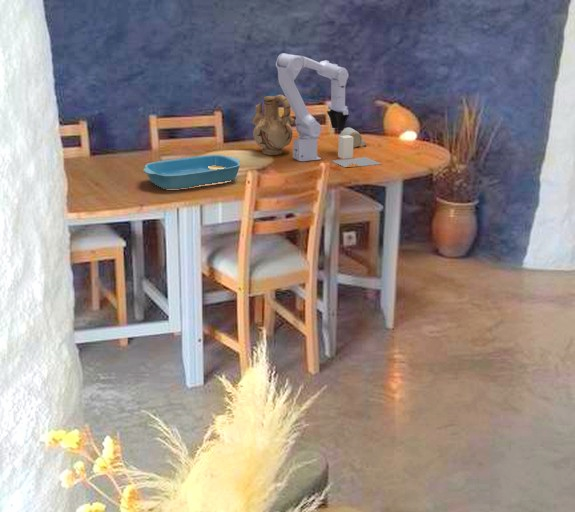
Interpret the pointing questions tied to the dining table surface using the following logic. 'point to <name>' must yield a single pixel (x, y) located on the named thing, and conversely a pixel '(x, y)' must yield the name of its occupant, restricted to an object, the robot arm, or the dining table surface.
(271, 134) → the ceramic vessel
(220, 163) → the casserole dish
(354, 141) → the ceramic mug
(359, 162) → the slate mat
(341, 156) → the off-white block
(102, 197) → the dining table surface
